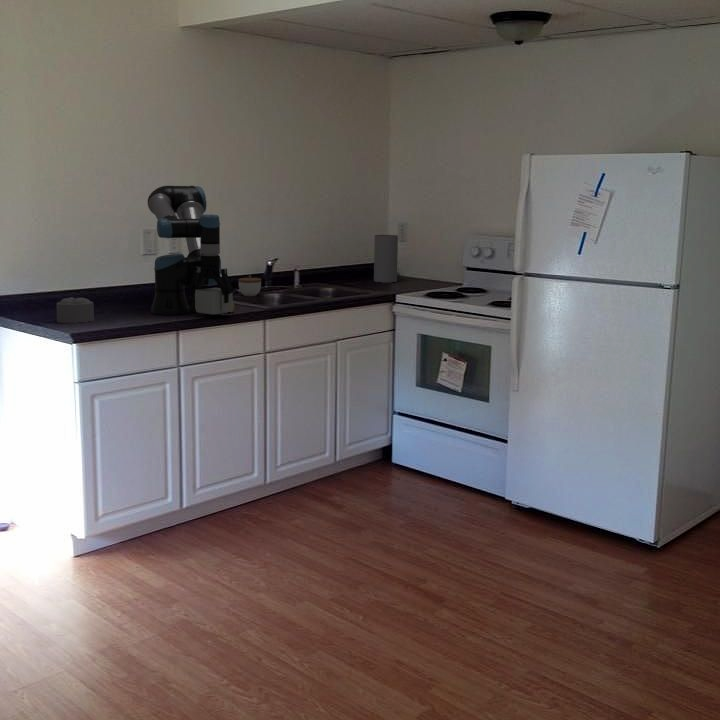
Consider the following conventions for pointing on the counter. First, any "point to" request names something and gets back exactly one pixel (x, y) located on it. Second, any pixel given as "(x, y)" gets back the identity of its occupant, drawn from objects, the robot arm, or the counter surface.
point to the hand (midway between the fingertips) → (211, 310)
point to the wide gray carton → (212, 301)
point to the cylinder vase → (385, 258)
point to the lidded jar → (249, 286)
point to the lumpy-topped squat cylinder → (74, 310)
